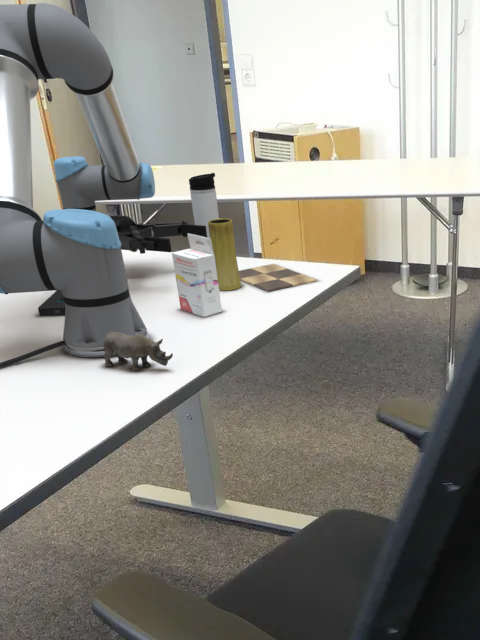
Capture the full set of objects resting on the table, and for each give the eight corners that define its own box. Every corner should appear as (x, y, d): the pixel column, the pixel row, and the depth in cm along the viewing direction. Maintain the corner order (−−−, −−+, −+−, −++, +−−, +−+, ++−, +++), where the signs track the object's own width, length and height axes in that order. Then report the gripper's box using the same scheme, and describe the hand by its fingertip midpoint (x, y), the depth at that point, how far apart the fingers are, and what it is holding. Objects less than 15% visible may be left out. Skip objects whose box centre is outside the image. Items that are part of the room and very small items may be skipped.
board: (268, 291, 170) (268, 290, 169) (227, 274, 183) (227, 273, 183) (316, 281, 176) (316, 279, 176) (273, 265, 189) (273, 263, 189)
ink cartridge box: (179, 310, 160) (167, 236, 152) (198, 304, 163) (187, 232, 155) (204, 317, 155) (193, 242, 147) (223, 311, 158) (213, 237, 150)
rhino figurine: (168, 376, 129) (162, 341, 125) (101, 367, 133) (93, 334, 130) (181, 367, 132) (175, 333, 128) (115, 359, 136) (108, 326, 133)
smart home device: (35, 308, 158) (64, 282, 175) (37, 316, 159) (66, 289, 176) (75, 306, 158) (100, 280, 175) (77, 314, 159) (102, 288, 176)
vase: (244, 283, 176) (236, 217, 168) (238, 290, 171) (230, 223, 163) (218, 283, 177) (209, 218, 169) (211, 290, 172) (202, 223, 164)
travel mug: (223, 260, 195) (212, 175, 183) (197, 261, 195) (185, 176, 184) (226, 254, 200) (216, 171, 189) (202, 255, 200) (190, 172, 189)
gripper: (151, 237, 191) (221, 243, 183) (81, 261, 173) (156, 269, 165) (146, 205, 187) (217, 210, 179) (74, 226, 168) (150, 232, 160)
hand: (188, 238), depth 172 cm, fingers open, 13 cm apart
